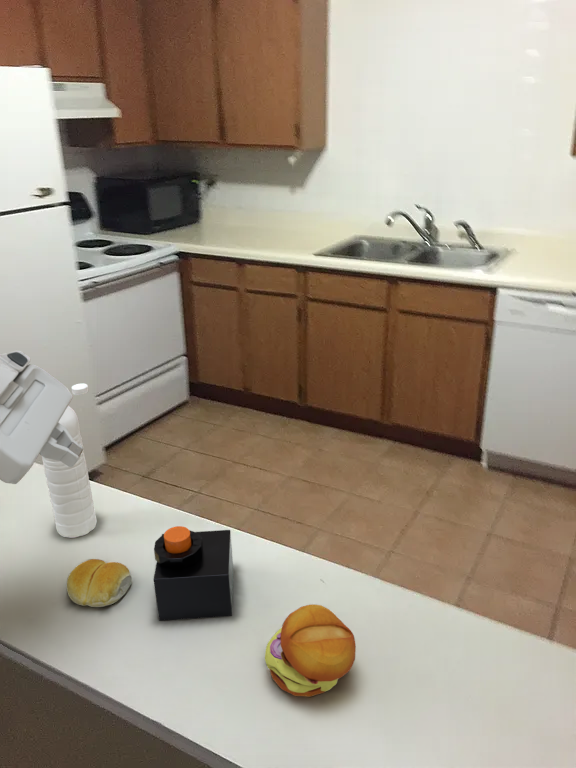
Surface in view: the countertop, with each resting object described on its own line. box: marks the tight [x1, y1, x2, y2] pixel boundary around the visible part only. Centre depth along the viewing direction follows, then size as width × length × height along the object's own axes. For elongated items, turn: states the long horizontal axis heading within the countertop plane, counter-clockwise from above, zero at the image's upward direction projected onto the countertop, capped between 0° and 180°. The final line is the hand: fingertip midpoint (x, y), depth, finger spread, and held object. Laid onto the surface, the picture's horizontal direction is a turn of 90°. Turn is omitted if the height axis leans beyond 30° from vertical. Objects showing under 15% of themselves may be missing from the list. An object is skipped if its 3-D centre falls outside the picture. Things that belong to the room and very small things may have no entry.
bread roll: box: [66, 558, 133, 608], centre depth 97 cm, size 8×9×4 cm
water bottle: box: [41, 382, 98, 539], centre depth 108 cm, size 9×6×25 cm
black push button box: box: [152, 529, 234, 622], centre depth 94 cm, size 10×10×9 cm
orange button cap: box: [163, 525, 191, 553], centre depth 92 cm, size 4×4×2 cm
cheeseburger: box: [264, 603, 357, 698], centre depth 81 cm, size 10×11×10 cm
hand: (78, 458), depth 86 cm, fingers closed
